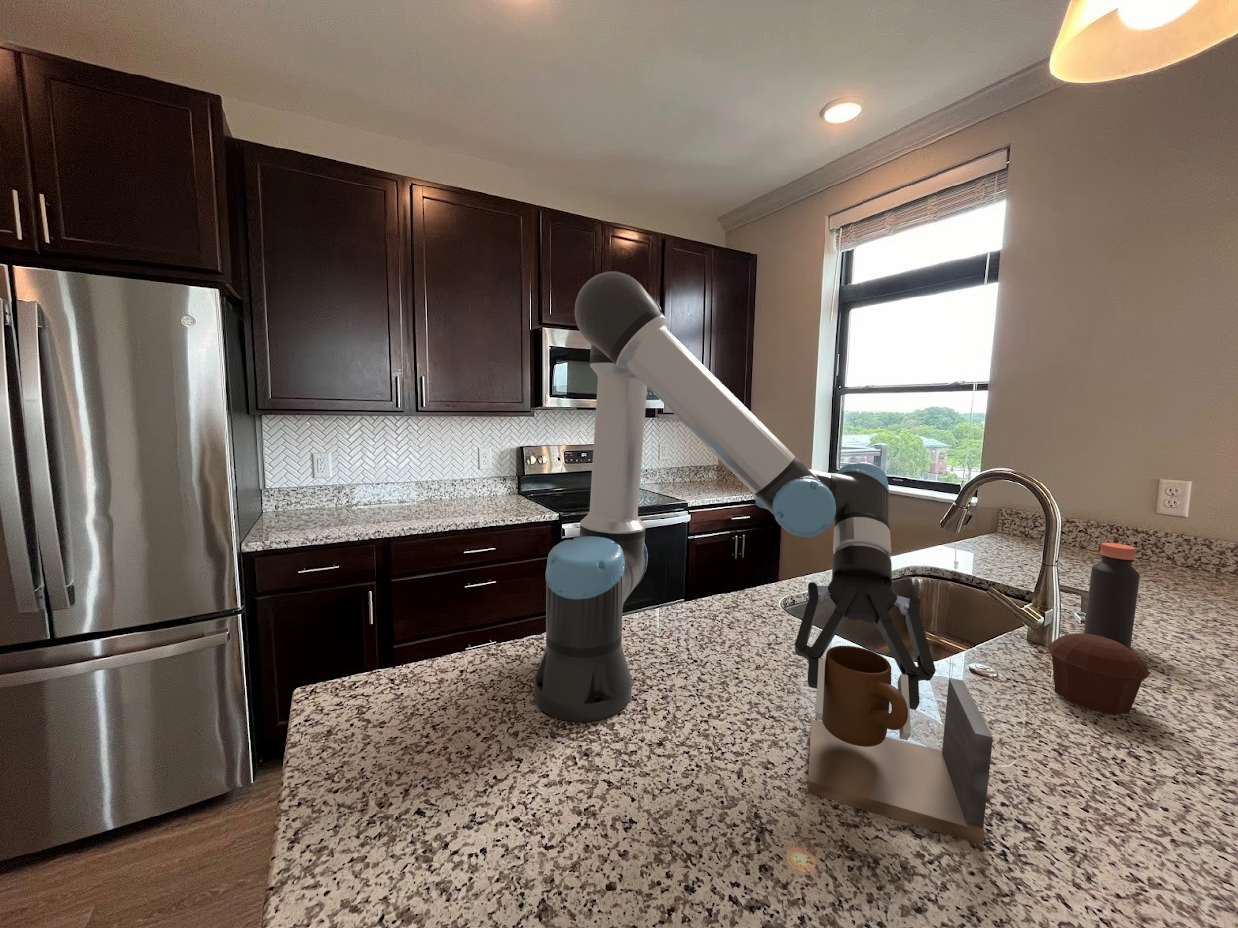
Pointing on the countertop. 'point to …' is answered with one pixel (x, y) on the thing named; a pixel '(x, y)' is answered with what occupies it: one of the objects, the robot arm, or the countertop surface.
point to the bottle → (1113, 594)
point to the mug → (860, 697)
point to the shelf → (913, 772)
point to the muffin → (1096, 672)
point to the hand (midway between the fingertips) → (860, 726)
